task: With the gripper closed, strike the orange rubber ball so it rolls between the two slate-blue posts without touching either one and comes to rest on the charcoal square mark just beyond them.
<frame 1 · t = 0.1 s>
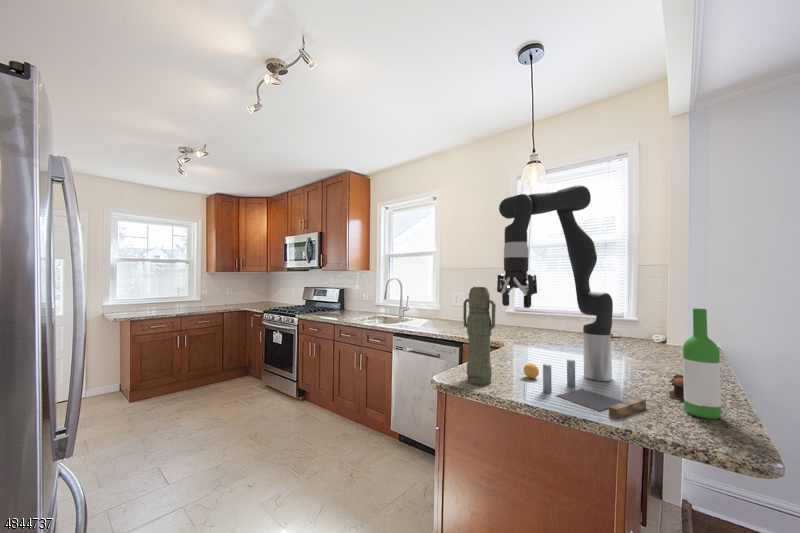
hand: (516, 306, 106), 29 cm above the counter, tool pointing down, fingers open, 8 cm apart
post 2: (571, 385, 117), on the counter
wine bottle: (702, 415, 93), on the counter
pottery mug: (689, 400, 105), on the counter
post 1: (547, 391, 110), on the counter
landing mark: (590, 399, 104), on the counter
ball: (531, 370, 126), on the counter
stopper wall: (628, 411, 94), on the counter
thermos: (479, 382, 121), on the counter
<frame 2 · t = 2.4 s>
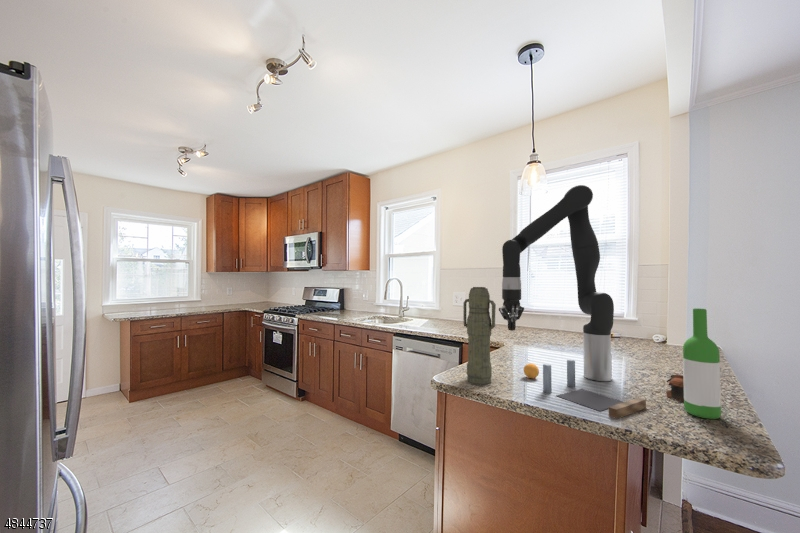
hand: (511, 330, 135), 17 cm above the counter, tool pointing down, fingers closed
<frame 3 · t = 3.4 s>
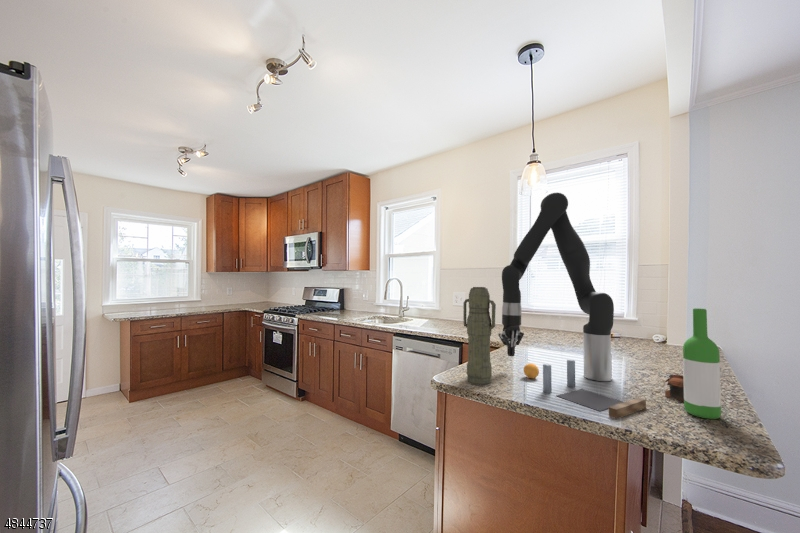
hand: (511, 355, 134), 7 cm above the counter, tool pointing down, fingers closed
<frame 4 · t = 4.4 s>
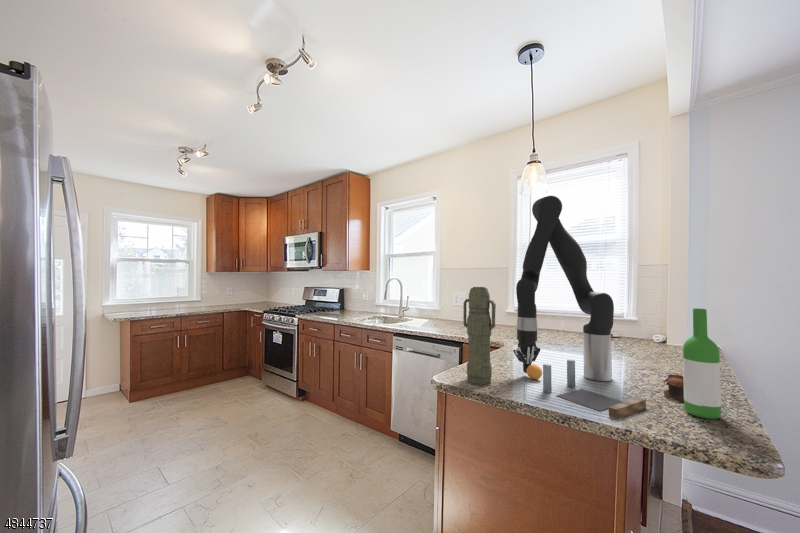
hand: (527, 372, 128), 1 cm above the counter, tool pointing down, fingers closed
ball: (534, 371, 124), on the counter, touching gripper
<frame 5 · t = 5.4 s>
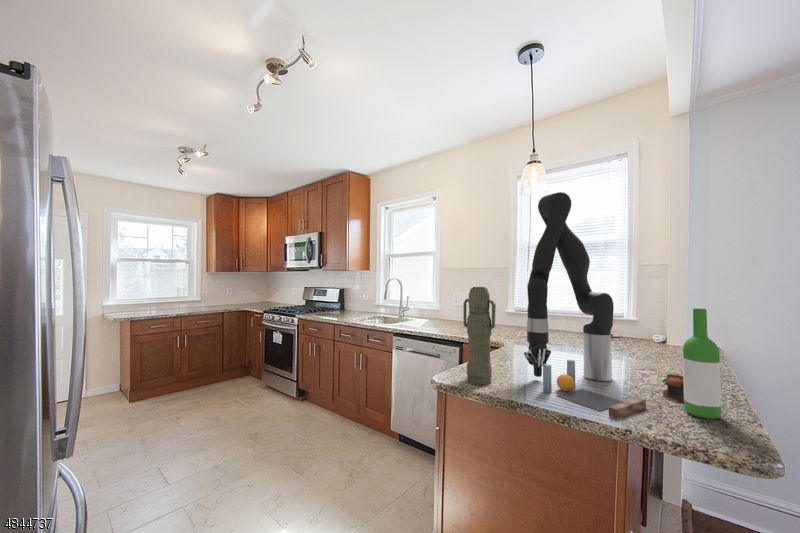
hand: (537, 376, 123), 1 cm above the counter, tool pointing down, fingers closed
ball: (565, 382, 112), on the counter
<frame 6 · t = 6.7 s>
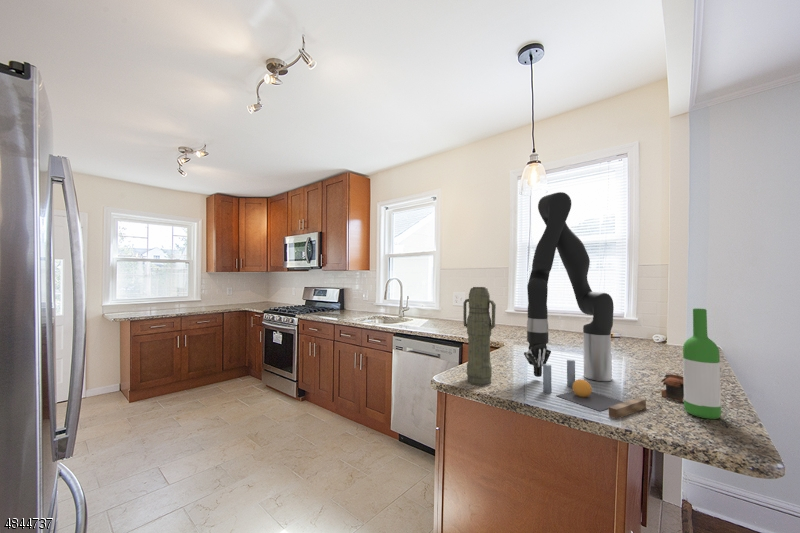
hand: (537, 376, 123), 1 cm above the counter, tool pointing down, fingers closed
ball: (581, 388, 106), on the counter
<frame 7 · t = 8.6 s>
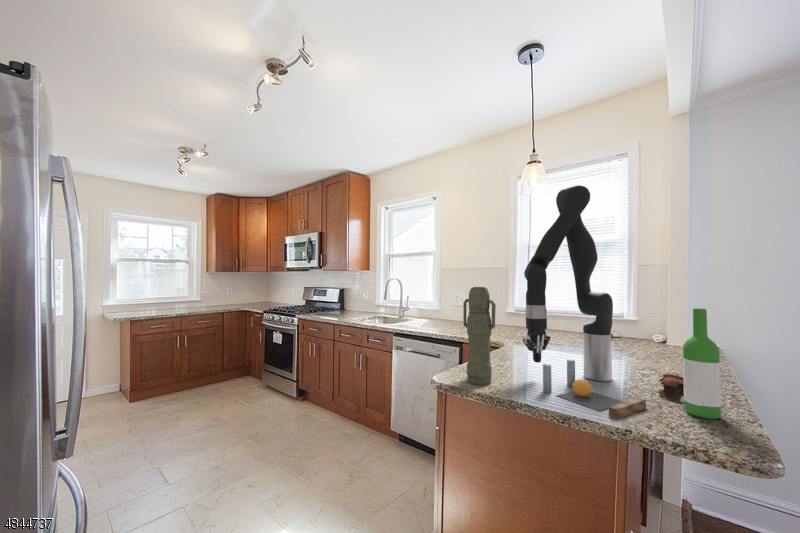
hand: (537, 361, 125), 7 cm above the counter, tool pointing down, fingers closed
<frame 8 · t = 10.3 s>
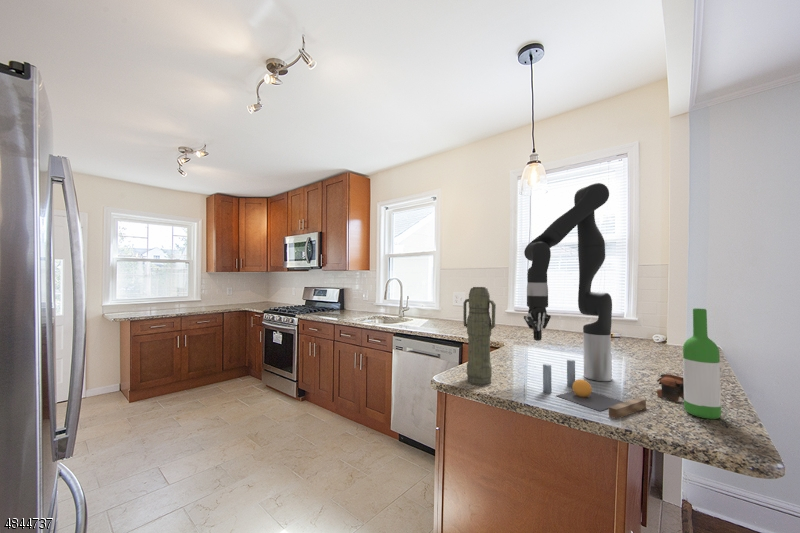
hand: (537, 340, 124), 15 cm above the counter, tool pointing down, fingers closed
at the end: ball 2.6 cm from the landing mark (horizontally); ball never touched post 2; ball never touched post 1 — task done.
